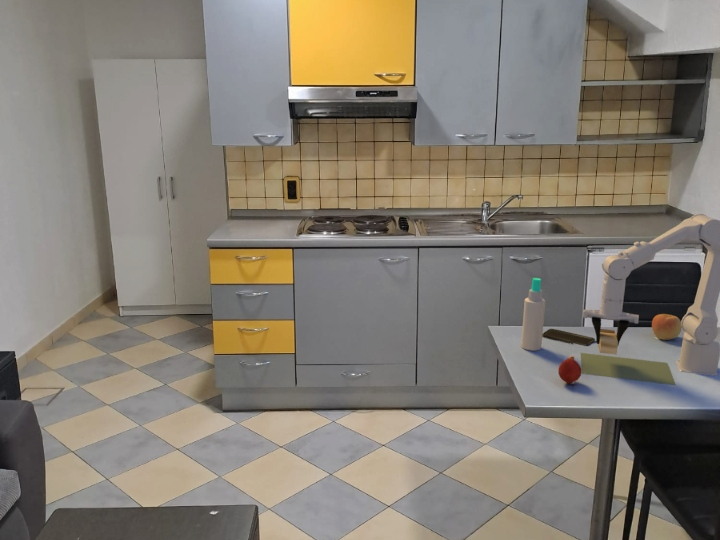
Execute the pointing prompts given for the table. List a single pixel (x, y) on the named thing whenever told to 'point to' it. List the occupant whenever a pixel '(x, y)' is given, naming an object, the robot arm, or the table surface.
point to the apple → (666, 326)
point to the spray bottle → (533, 318)
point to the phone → (568, 337)
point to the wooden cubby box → (608, 342)
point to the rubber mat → (626, 368)
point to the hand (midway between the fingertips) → (607, 343)
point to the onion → (569, 370)
